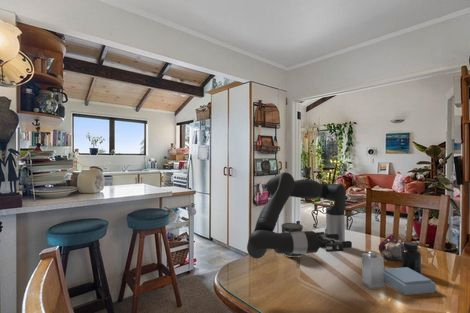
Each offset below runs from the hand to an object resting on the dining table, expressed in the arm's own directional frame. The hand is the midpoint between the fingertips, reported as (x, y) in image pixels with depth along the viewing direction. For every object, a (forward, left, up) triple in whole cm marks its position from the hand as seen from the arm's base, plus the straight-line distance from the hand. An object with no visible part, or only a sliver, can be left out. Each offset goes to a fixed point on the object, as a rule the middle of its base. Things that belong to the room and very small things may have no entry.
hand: (344, 240), depth 93 cm
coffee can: (-29, +18, -17) cm, 38 cm away
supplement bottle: (+19, +28, -17) cm, 38 cm away
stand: (+18, +15, -17) cm, 29 cm away
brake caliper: (+11, +41, -17) cm, 46 cm away
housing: (+8, +8, -17) cm, 21 cm away
